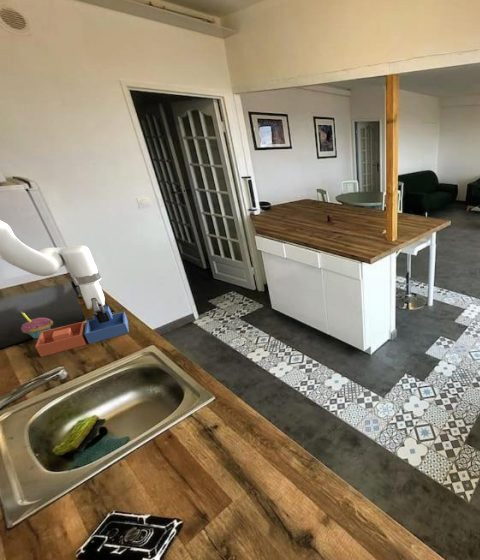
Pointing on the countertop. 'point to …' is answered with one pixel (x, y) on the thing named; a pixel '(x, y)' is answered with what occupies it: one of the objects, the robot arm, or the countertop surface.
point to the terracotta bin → (50, 346)
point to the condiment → (86, 309)
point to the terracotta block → (62, 334)
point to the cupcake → (36, 326)
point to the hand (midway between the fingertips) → (104, 318)
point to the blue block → (105, 311)
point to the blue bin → (106, 328)
